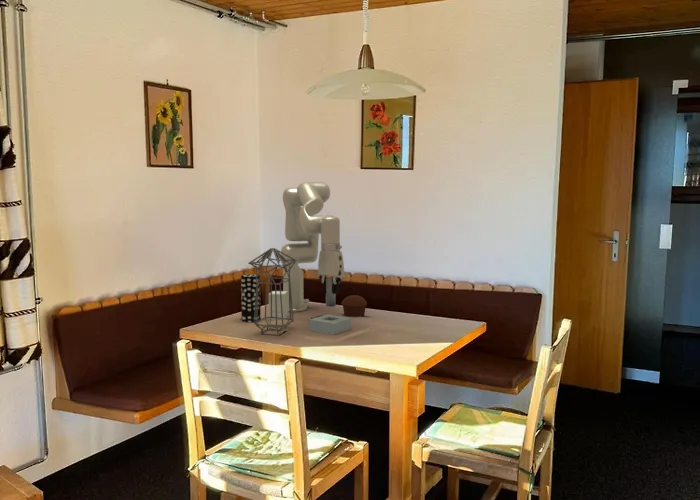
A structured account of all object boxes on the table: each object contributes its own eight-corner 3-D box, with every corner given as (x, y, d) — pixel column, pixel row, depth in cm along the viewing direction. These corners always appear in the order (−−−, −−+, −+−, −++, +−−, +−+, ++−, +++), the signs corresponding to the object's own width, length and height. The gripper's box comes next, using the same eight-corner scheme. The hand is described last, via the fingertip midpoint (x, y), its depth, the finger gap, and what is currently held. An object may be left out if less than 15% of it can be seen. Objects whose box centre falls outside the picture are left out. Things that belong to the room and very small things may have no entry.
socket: (327, 328, 271) (327, 314, 270) (351, 332, 264) (351, 318, 264) (309, 334, 261) (309, 319, 261) (333, 338, 254) (333, 323, 254)
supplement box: (288, 318, 290) (288, 290, 288) (285, 322, 282) (285, 293, 281) (272, 318, 291) (272, 290, 289) (268, 322, 283) (268, 293, 282)
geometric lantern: (299, 330, 268) (298, 246, 263) (282, 340, 253) (281, 251, 248) (264, 326, 273) (264, 244, 268) (246, 336, 259) (245, 249, 254)
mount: (322, 323, 281) (322, 313, 281) (337, 325, 277) (337, 316, 276) (308, 327, 273) (308, 318, 273) (323, 329, 269) (323, 320, 268)
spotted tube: (259, 322, 282) (258, 277, 280) (240, 322, 282) (239, 276, 280) (262, 318, 291) (261, 274, 288) (243, 318, 291) (242, 274, 288)
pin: (329, 304, 264) (329, 270, 263) (338, 305, 262) (337, 270, 260) (323, 305, 261) (323, 271, 259) (331, 306, 258) (331, 272, 257)
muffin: (368, 315, 297) (368, 293, 296) (366, 320, 286) (366, 298, 285) (342, 314, 298) (342, 293, 297) (339, 320, 288) (339, 297, 286)
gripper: (352, 248, 257) (353, 293, 259) (319, 245, 267) (319, 289, 268) (341, 249, 251) (342, 296, 253) (308, 247, 261) (308, 292, 262)
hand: (330, 292), depth 261 cm, fingers closed on pin, 4 cm apart
